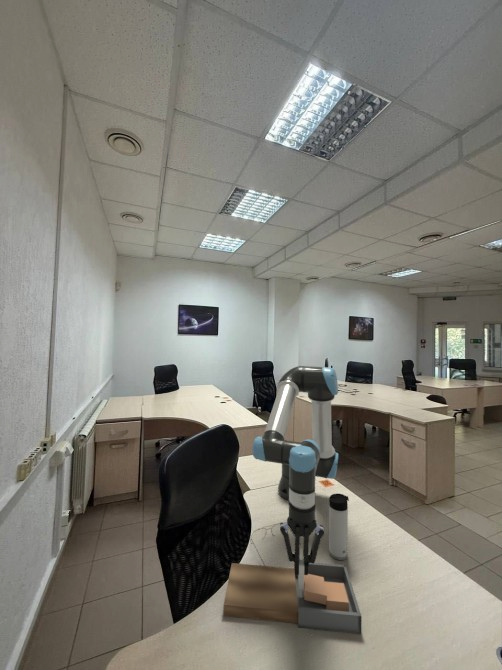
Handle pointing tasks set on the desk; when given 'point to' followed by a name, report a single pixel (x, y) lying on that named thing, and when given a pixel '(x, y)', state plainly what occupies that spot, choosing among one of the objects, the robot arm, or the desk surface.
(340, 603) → the tile
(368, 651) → the desk surface
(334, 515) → the travel mug
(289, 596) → the wooden plank
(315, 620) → the tray
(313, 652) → the desk surface
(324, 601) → the tile
